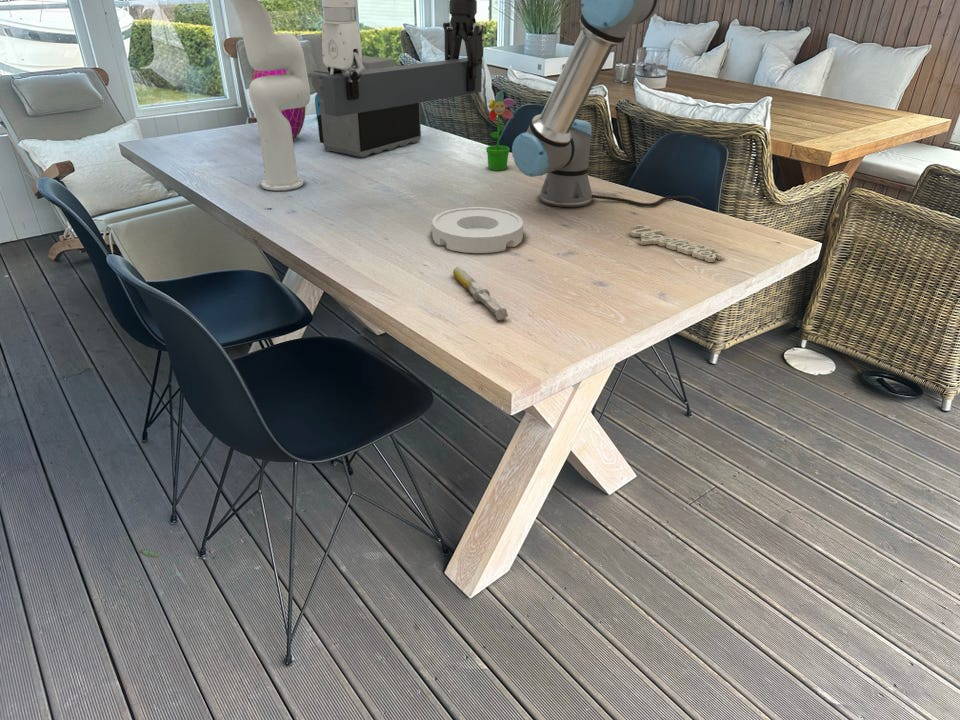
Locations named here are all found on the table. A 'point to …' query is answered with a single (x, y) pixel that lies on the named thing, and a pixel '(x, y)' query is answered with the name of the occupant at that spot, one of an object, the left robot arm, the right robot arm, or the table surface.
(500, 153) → the potted flower
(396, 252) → the table surface
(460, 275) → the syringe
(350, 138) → the black cooler box
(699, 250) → the decorative sign
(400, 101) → the beam
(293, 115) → the magenta tall rounded piece
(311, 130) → the table surface
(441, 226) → the ashtray
